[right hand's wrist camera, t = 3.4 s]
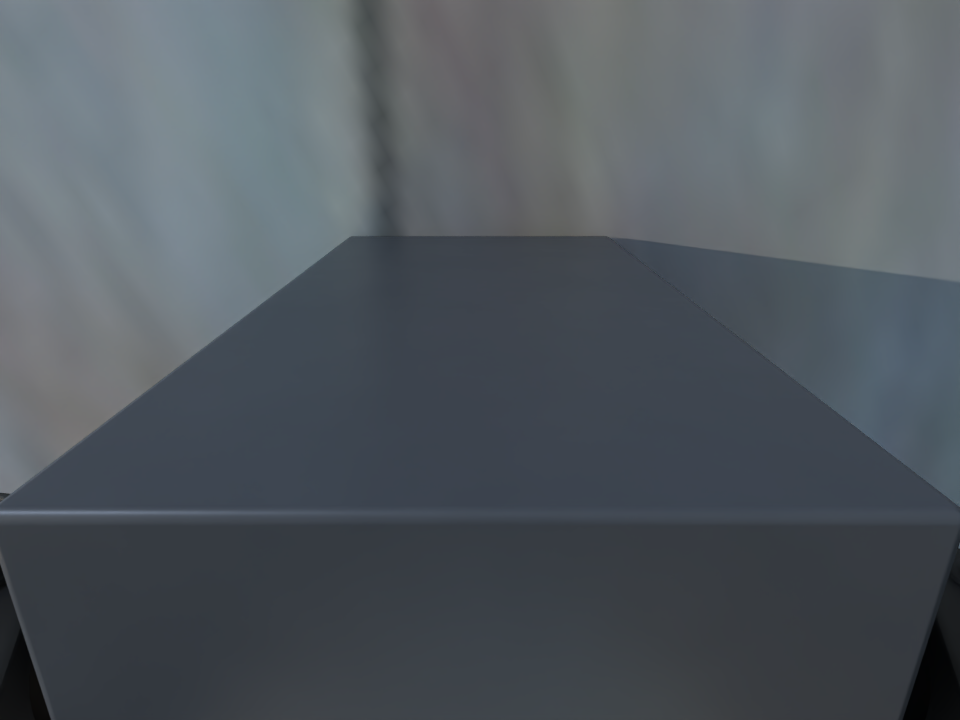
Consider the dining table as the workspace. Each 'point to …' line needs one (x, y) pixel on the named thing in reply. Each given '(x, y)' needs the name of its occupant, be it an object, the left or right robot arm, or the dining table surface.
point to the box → (477, 513)
